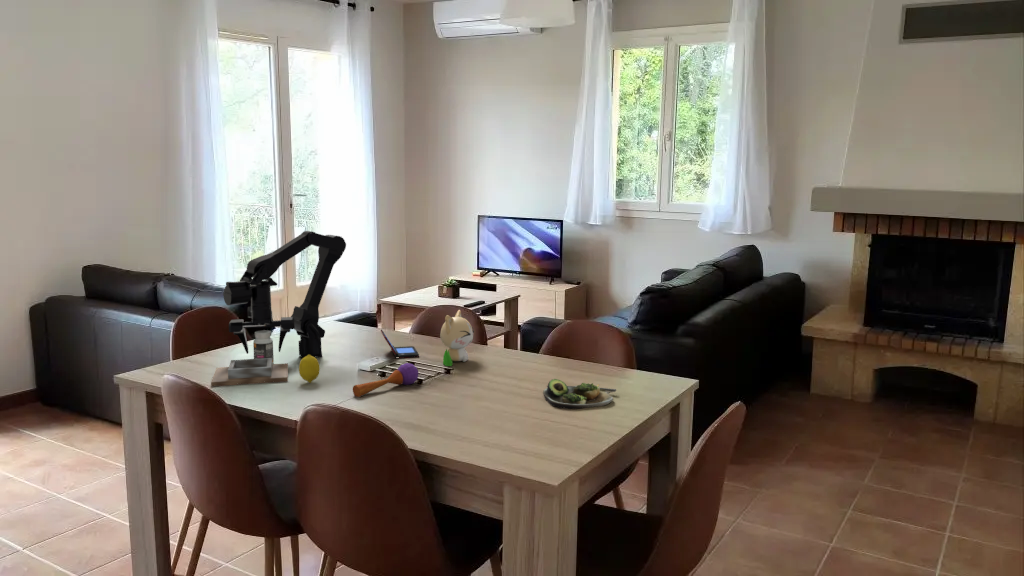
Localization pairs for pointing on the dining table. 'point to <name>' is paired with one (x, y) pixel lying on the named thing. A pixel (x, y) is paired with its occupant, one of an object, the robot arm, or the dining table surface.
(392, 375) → the purple and orange maraca
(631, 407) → the dining table surface
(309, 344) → the robot arm
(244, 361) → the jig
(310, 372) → the lemon
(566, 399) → the salad plate
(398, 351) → the handheld game console
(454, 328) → the kitten
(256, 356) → the pill bottle
